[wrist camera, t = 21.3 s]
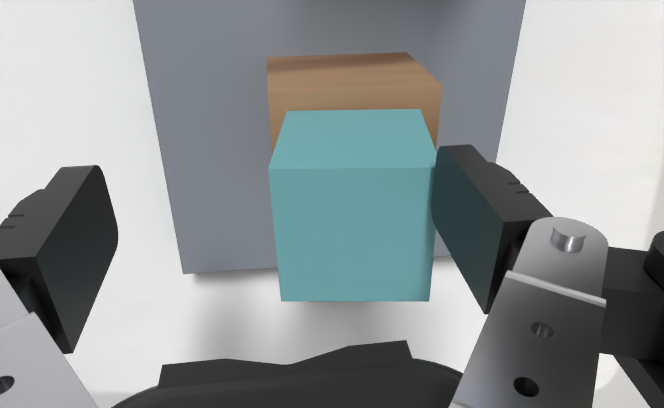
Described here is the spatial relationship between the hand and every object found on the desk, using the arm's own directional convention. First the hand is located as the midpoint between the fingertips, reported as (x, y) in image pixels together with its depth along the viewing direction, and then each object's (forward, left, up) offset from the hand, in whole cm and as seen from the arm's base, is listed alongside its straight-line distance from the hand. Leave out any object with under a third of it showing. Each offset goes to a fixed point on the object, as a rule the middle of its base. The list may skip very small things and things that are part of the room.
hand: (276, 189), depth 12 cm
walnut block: (+2, +3, -11) cm, 11 cm away
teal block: (+2, +3, -5) cm, 6 cm away
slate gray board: (+2, +3, -13) cm, 13 cm away
